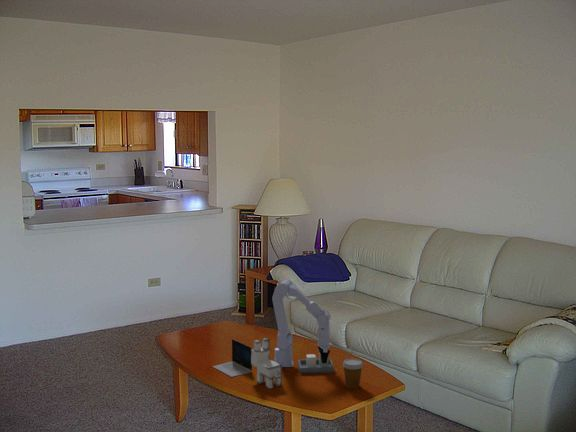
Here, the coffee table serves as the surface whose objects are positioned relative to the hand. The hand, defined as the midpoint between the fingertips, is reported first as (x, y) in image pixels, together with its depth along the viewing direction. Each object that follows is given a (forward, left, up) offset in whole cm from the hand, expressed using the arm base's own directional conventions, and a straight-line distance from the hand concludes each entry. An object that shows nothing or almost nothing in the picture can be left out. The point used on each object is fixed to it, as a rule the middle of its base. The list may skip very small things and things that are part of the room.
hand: (323, 361), depth 334 cm
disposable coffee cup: (+11, -24, -4) cm, 26 cm away
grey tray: (-4, 0, -4) cm, 6 cm away
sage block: (0, 0, -1) cm, 1 cm away
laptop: (-46, +2, -4) cm, 47 cm away
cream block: (-6, 0, -3) cm, 7 cm away
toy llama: (-29, -17, -4) cm, 34 cm away
